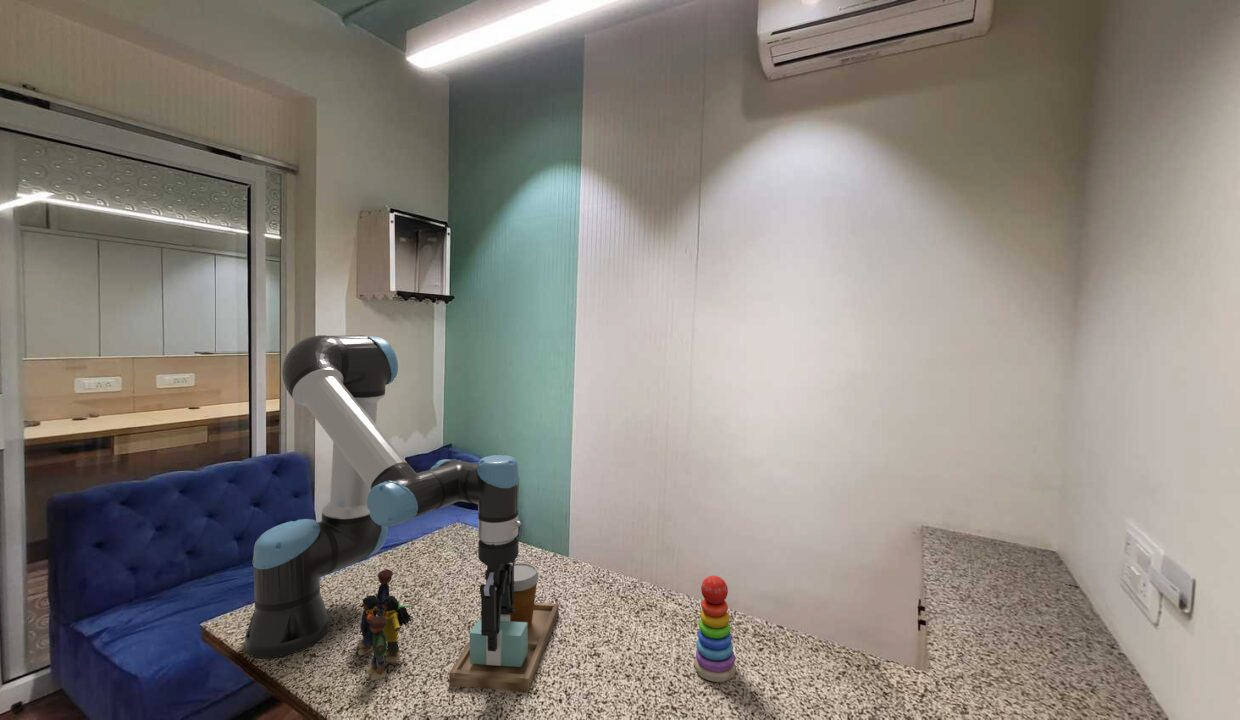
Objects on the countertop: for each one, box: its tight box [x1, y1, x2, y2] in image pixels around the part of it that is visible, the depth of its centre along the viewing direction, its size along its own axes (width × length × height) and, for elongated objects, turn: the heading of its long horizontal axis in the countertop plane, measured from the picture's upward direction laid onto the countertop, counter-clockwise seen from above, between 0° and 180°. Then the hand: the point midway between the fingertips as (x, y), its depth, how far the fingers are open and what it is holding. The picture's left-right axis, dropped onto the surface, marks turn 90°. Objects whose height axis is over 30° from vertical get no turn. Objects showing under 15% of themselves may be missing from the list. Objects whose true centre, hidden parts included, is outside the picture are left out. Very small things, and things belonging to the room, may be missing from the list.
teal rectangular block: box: [469, 619, 528, 667], centre depth 97 cm, size 10×4×6 cm, turn 84°
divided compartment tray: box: [448, 602, 560, 693], centre depth 104 cm, size 15×26×2 cm, turn 175°
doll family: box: [357, 569, 415, 681], centre depth 103 cm, size 23×9×13 cm, turn 42°
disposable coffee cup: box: [509, 562, 540, 629], centre depth 109 cm, size 10×10×12 cm
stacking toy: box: [693, 575, 737, 683], centre depth 97 cm, size 8×8×19 cm
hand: (498, 655), depth 97 cm, fingers closed on teal rectangular block, 4 cm apart
